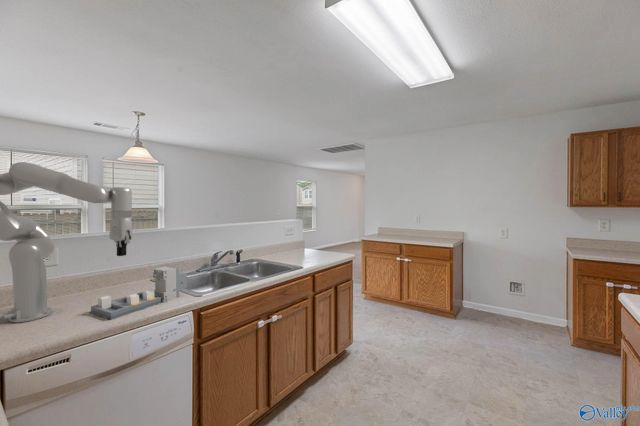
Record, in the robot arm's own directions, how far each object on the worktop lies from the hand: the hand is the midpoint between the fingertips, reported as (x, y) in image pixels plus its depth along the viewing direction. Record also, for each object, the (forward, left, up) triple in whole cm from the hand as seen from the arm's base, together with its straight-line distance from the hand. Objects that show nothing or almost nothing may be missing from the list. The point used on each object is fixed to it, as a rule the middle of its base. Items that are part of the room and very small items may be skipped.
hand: (121, 255), depth 126 cm
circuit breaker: (+18, -9, -23) cm, 31 cm away
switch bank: (0, -5, -23) cm, 23 cm away
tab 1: (-7, 0, -21) cm, 23 cm away
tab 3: (+7, -9, -21) cm, 24 cm away
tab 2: (0, -9, -21) cm, 23 cm away
